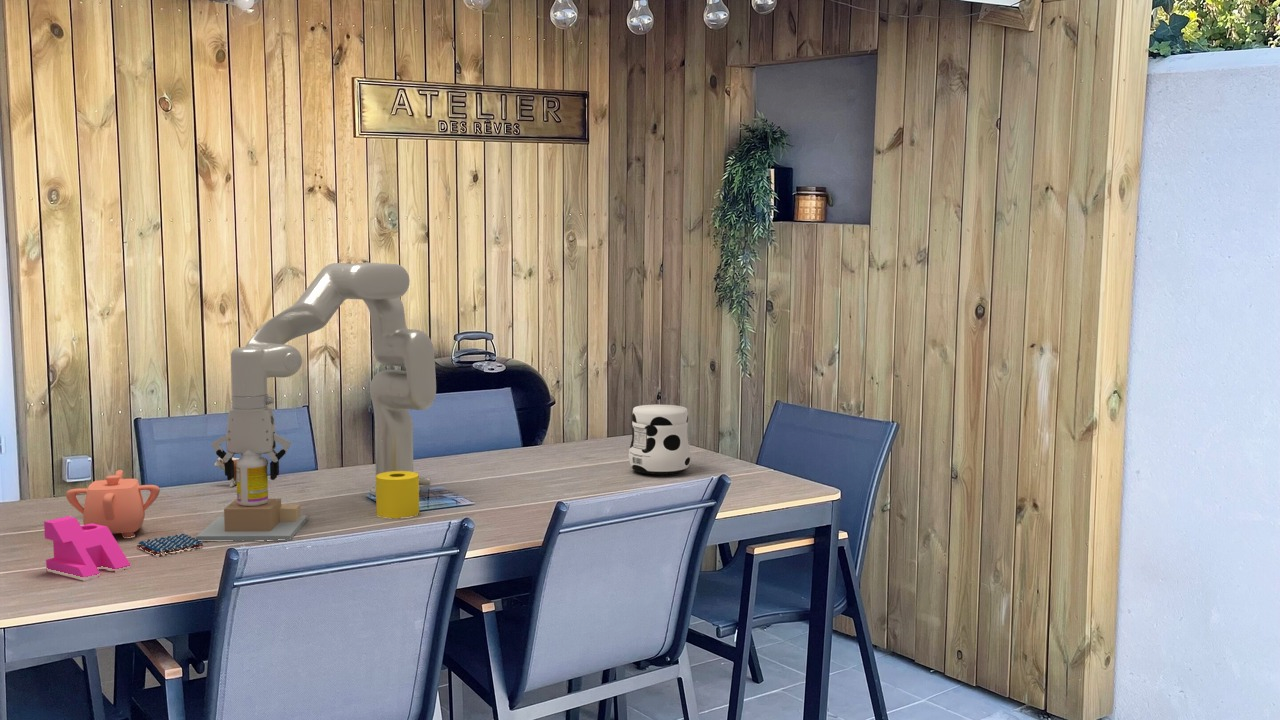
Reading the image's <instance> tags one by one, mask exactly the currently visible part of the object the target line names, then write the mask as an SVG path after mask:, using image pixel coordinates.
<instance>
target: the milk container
mask: <svg viewBox="0 0 1280 720" xmlns="http://www.w3.org/2000/svg"><path fill="white" fill-rule="evenodd" d="M631 419H632V421H631V422H632V423H631V429H632V430H631V434H632V435H631V436H632V437H631V442H630V446H629V450H628V461H629V465H630V468H631V469H632V470H633V471H635V472H638V473H641V474H646V475H654V476H655V475H657V476H659V475H661V476H662V475H664V476H665V475H666V476H667V475H674V474H679V473H682V472H685V471H686V470H688V468H689V466H690V463H691V459H692V458H691V457H692V456H691V455H692V454H691V453H692V452H691V447H690V445H689V441H688V437H689V436H688V433H689V432H688V431H689V428H688V427H689V423H688V421H689V412H688V408H687V407H685V406H682V405H675V404H657V403H656V404H643V405H637V406H634V407H633V408H632V417H631Z"/></svg>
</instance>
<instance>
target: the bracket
mask: <svg viewBox="0 0 1280 720" xmlns="http://www.w3.org/2000/svg"><path fill="white" fill-rule="evenodd" d="M43 525H44V527H43V528H44V539H45V540H49V541H52V543H53V545H52V546H53V547H52V548H53V557H51V558H48V559H47V558H46V560H45V566H46V568H48V569H51V570H56V571H60V572H64V573H68V574H73V575H76V576H80V577H88V576H92V575H97V574H99V573H100V570H98V569H97V567H101V566H103V567H108V568H112V569H119V568H123V567H127V566H130V565H131V563H130V562H129V560H128V558H127V556H126V554H125V553H124V552H123V550H122V548H121V547H120V545H119V544H118V541H117V540H116V538H115V536H114V534H112V533H111V532H110V530H109V528H108V527H107V526H102V525H97V524H93V523H91V524H86V525H84V524H82V525H81V524H80V522H79V521H78V519H77V518H76V517H73V516H69V515H68V516H63V517H58V518H55V519H50V520H45V521H43ZM100 574H101V573H100Z"/></svg>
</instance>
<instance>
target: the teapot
mask: <svg viewBox="0 0 1280 720" xmlns="http://www.w3.org/2000/svg"><path fill="white" fill-rule="evenodd" d="M123 473H124V471H123V470H122V469H118V470H116V472H115V474H113V475H106V476H105V477H104V478H105V479H101V480H99V479H98V480H94V481H92V482H91V483H90V484H89V485H88V486H87V487H86V488H84V487H83V488H72V489H69V490H67V491H66V493H65V498H66V500H67V502H68V503H69V504H70V505H71V506H72V507H74V508H75V510H77V511H78V512H79V513H80V514H82V515H83V516H82V521H83V522H82V523H83V524H82V525H86V524H91V523H93V524H97V525H102V526H107V527H108V528H109V530H110V532H111V533H112V535H115V534H121V536H124V537H131V536H134V535H135V536H136V534H135V533H134V532H137V531H138V530H140V528H141V527H143V525H144V524H143V523H144V521H145V515H146V514H145V513H146V512H145V511H146V510H147V509H149V508H150V506H151V505H153V503H154V502H155V501H156V500H157V498H158V496H159V495H160V492H161V489H160V487H159V486H158V485H155V484H142V485H140V484H139V480H138V479H137V478H123V477H124V475H123ZM142 491H149V492H150V494H149V497H148V498H147V500H146V502H145V503H144V498H143V493H142ZM78 494H85V497H84V498H85V499H84V504H83V505H81V503H80V502H79V500H78V499H77V495H78Z"/></svg>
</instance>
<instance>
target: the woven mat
mask: <svg viewBox="0 0 1280 720" xmlns="http://www.w3.org/2000/svg"><path fill="white" fill-rule="evenodd" d="M203 544H204V542H201V541H198V539H196V537H192V536H190V535H188V534H185V533H181V534H175V535H172V536H171V535H167V536H165V537H162V536H161V537H158V538H157V537H155V538H152V539H147V540H144V541H143V540H140V541H139V542H138V544H137V545H136V547H137V548H138V549H139V548H140V547H141V548H142V549H143V550H146V551H148V552H150V551H151V553H153V554H154V555H156V554H161V553H162V554H165V552H166V553H169V552H176V551H179V550H184V549H185V548H187V549H191V548H194V547H202V548H203V547H204V545H203ZM173 549H174V550H173ZM194 549H195V548H194ZM143 550H142V551H143ZM184 551H185V550H184ZM176 553H177V552H176ZM169 554H170V553H169ZM154 555H153V556H154Z"/></svg>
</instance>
